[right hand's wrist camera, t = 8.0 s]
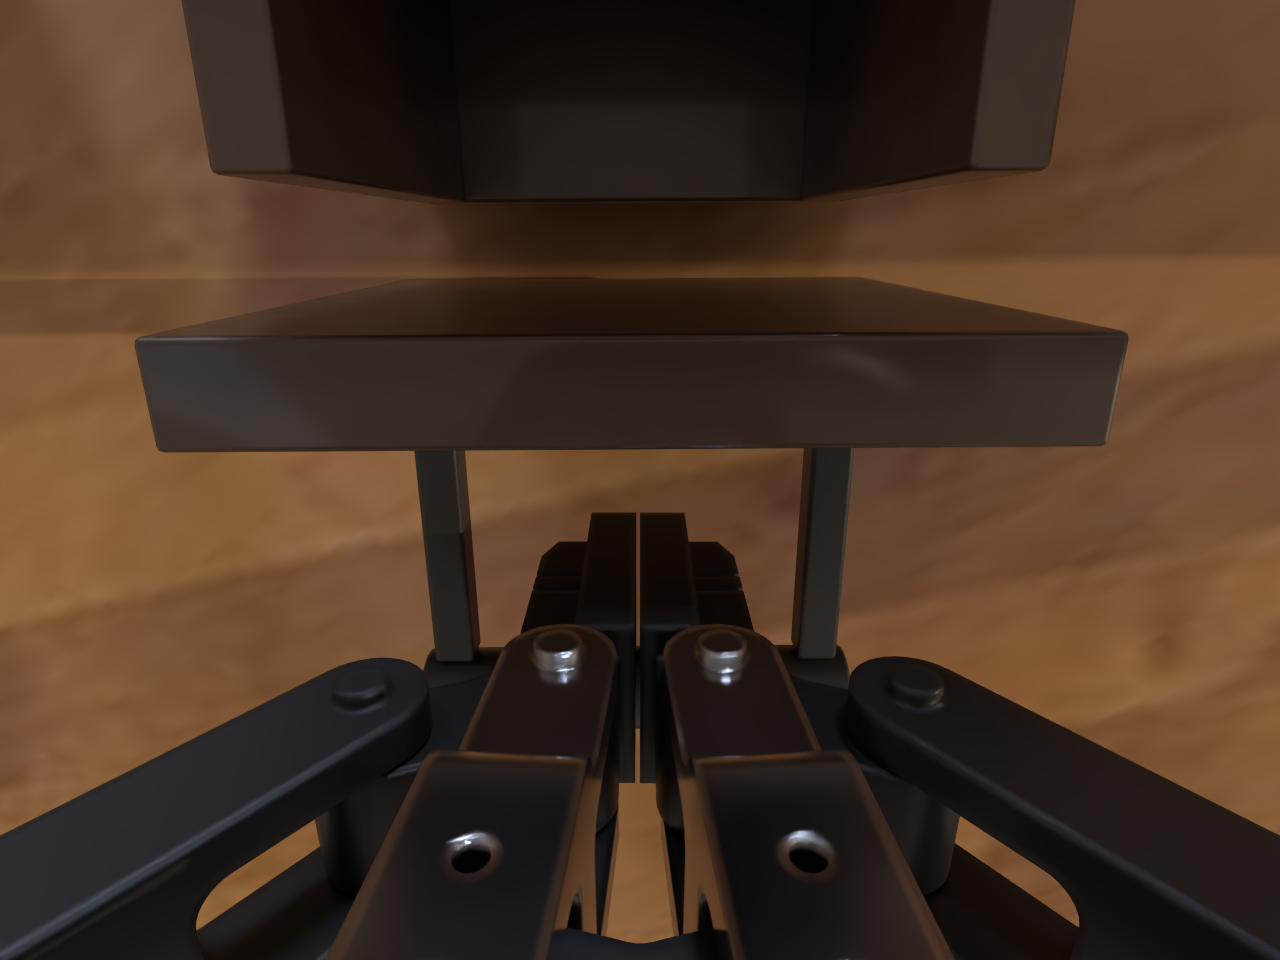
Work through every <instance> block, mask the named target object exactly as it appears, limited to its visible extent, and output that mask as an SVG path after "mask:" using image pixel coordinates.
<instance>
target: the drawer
mask: <svg viewBox="0 0 1280 960" xmlns="http://www.w3.org/2000/svg"><path fill="white" fill-rule="evenodd" d="M182 5H183V10H184V16H185V22H186V28H187V33H188V39H189V45H190V51H191V57H192V62H193V68H194V74H195V80H196V85H197V91H198V97H199V103H200V109H201V114H202V120H203V126H204V132H205V138H206V143H207V149H208V155H209V161H210V166H211V169H212V171H213V172H214V173H216V174H218V175H224V176H231V177H239V178H246V179H254V180H261V181H268V182H276V183H283V184H290V185H298V186H305V187H313V188H320V189H327V190H335V191H342V192H350V193H357V194H364V195H372V196H379V197H386V198H394V199H401V200H409V201H416V202H423V203H432V204H597V203H800V202H834V201H841V200H848V199H854V198H861V197H868V196H875V195H881V194H888V193H895V192H902V191H908V190H915V189H922V188H929V187H935V186H942V185H949V184H956V183H962V182H969V181H976V180H983V179H989V178H996V177H1003V176H1010V175H1017V174H1023V173H1030V172H1037V171H1041V170H1043V169H1046V168H1047V167H1048V165H1049V163H1050V159H1051V153H1052V146H1053V140H1054V133H1055V127H1056V121H1057V114H1058V108H1059V101H1060V95H1061V89H1062V82H1063V76H1064V69H1065V63H1066V56H1067V50H1068V44H1069V37H1070V31H1071V24H1072V18H1073V12H1074V5H1075V0H182ZM1127 343H1128V334H1127V333H1125V332H1123V331H1121V330H1116V329H1111V328H1106V327H1101V326H1097V325H1092V324H1087V323H1082V322H1077V321H1072V320H1067V319H1062V318H1057V317H1053V316H1048V315H1043V314H1038V313H1033V312H1028V311H1023V310H1018V309H1013V308H1008V307H1004V306H999V305H994V304H989V303H984V302H979V301H974V300H969V299H964V298H959V297H955V296H950V295H945V294H940V293H935V292H930V291H925V290H920V289H915V288H911V287H906V286H901V285H896V284H891V283H886V282H881V281H876V280H871V279H866V278H862V277H822V278H640V279H458V280H403V281H398V282H394V283H389V284H384V285H379V286H375V287H370V288H365V289H361V290H356V291H351V292H347V293H342V294H337V295H333V296H328V297H323V298H319V299H314V300H309V301H305V302H300V303H295V304H291V305H286V306H281V307H276V308H272V309H267V310H262V311H258V312H253V313H248V314H244V315H239V316H234V317H230V318H225V319H220V320H216V321H211V322H206V323H202V324H197V325H192V326H188V327H183V328H178V329H174V330H169V331H164V332H159V333H155V334H150V335H145V336H141V337H139V338H137V339H136V340H135V349H136V354H137V359H138V363H139V368H140V372H141V377H142V382H143V386H144V391H145V395H146V400H147V404H148V409H149V414H150V418H151V423H152V427H153V432H154V437H155V441H156V446H157V448H158V450H159V451H162V452H308V451H415V461H416V470H417V480H418V490H419V499H420V509H421V518H422V528H423V537H424V547H425V556H426V566H427V576H428V585H429V595H430V604H431V614H432V623H433V633H434V642H435V649H432V650H431V651H430V653H429V655H428V657H427V660H426V663H425V666H424V670H423V672H424V673H425V674H426V677H427V679H428V686H429V688H433V687H438V686H443V685H448V684H453V683H458V682H462V681H466V680H470V679H473V678H476V677H479V676H481V675H483V674H486V673H488V672H490V671H492V670H493V669H494V667H495V665H496V663H497V661H498V658H499V656H500V654H501V652H502V650H503V648H504V647H479V644H480V630H479V618H478V606H477V594H476V581H475V569H474V557H473V545H472V533H471V521H470V509H469V497H468V484H467V472H466V460H465V450H605V449H753V448H804V456H803V470H802V485H801V500H800V515H799V530H798V545H797V560H796V575H795V589H794V604H793V619H792V634H791V640H792V643H793V645H774V646H775V647H776V649H777V650H778V652H779V654H780V656H781V658H782V661H783V663H784V665H785V668H786V670H787V672H788V674H791V675H793V676H795V677H798V678H801V679H804V680H807V681H812V682H816V683H820V684H825V685H830V686H835V687H840V688H845V689H848V686H849V678H850V674H849V669H848V664H847V661H846V658H845V655H844V652H843V650H842V649H841V647H839V646H838V645H836V643H837V631H838V620H839V609H840V598H841V586H842V575H843V564H844V553H845V542H846V530H847V519H848V508H849V497H850V486H851V474H852V463H853V452H854V448H902V447H1050V446H1102V445H1105V444H1106V443H1107V441H1108V438H1109V433H1110V428H1111V423H1112V418H1113V413H1114V408H1115V403H1116V398H1117V393H1118V388H1119V383H1120V378H1121V373H1122V368H1123V363H1124V358H1125V353H1126V348H1127ZM635 729H640V646H636V720H635Z"/></svg>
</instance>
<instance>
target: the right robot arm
mask: <svg viewBox="0 0 1280 960" xmlns="http://www.w3.org/2000/svg"><path fill="white" fill-rule="evenodd" d="M635 720H636V513H592V514H591V521H590V527H589V534H588V540H587V542H558V543H557V544H556V545H554V546H553V547H552V548H551V549H550V550H549V551H547V552H546V553H545V554H544V555H543V556H542V558H541V561H540V565H539V568H538V572H537V576H536V579H535V583H534V586H533V591H532V594H531V597H530V601H529V604H528V608H527V612H526V615H525V619H524V623H523V626H522V630H521V633H520V635H518V636H516V637H515V638H514V639H512V640H511V641H510V642H509V643H508V644H507V645H506V646H505V647H504V648H503V650H502V652H501V654H500V656H499V658H498V661H497V663H496V665H495V667H494V669H493V670H492V671H490V672H488V673H486V674H483V675H481V676H479V677H476V678H473V679H470V680H466V681H462V682H458V683H453V684H448V685H443V686H438V687H433V688H429V686H428V679H427V677H426V674H425V673H424V672H423V671H422V669H420V668H419V667H418V666H416V665H415V664H412V663H410V662H408V661H404V660H401V659H394V658H371V659H365V660H359V661H355V662H351V663H347V664H344V665H342V666H339V667H336V668H334V669H332V670H330V671H327V672H325V673H323V674H321V675H319V676H317V677H315V678H313V679H311V680H309V681H307V682H306V683H304V684H302V685H300V686H298V687H296V688H294V689H292V690H290V691H288V692H286V693H284V694H282V695H280V696H278V697H276V698H274V699H272V700H270V701H268V702H266V703H264V704H262V705H260V706H258V707H256V708H254V709H252V710H250V711H248V712H246V713H244V714H242V715H240V716H238V717H236V718H234V719H232V720H230V721H228V722H226V723H224V724H222V725H220V726H218V727H216V728H214V729H212V730H210V731H208V732H206V733H204V734H202V735H200V736H198V737H196V738H194V739H192V740H190V741H188V742H186V743H184V744H182V745H180V746H178V747H176V748H174V749H172V750H170V751H168V752H166V753H164V754H162V755H160V756H158V757H156V758H154V759H152V760H150V761H148V762H146V763H144V764H142V765H140V766H138V767H136V768H134V769H132V770H130V771H128V772H126V773H124V774H122V775H120V776H118V777H116V778H114V779H112V780H110V781H108V782H106V783H104V784H102V785H100V786H98V787H96V788H94V789H92V790H90V791H88V792H86V793H84V794H82V795H80V796H78V797H76V798H74V799H72V800H70V801H68V802H66V803H64V804H62V805H61V806H59V807H57V808H55V809H53V810H51V811H49V812H47V813H45V814H43V815H41V816H39V817H37V818H35V819H33V820H31V821H29V822H27V823H25V824H23V825H21V826H19V827H17V828H15V829H13V830H11V831H9V832H7V833H5V834H3V835H1V836H0V960H1280V836H1279V835H1277V834H1275V833H1273V832H1271V831H1269V830H1267V829H1265V828H1263V827H1261V826H1259V825H1257V824H1255V823H1253V822H1251V821H1249V820H1247V819H1245V818H1243V817H1241V816H1239V815H1237V814H1235V813H1233V812H1231V811H1229V810H1227V809H1225V808H1223V807H1221V806H1219V805H1217V804H1215V803H1213V802H1211V801H1210V800H1208V799H1206V798H1204V797H1202V796H1200V795H1198V794H1196V793H1194V792H1192V791H1190V790H1188V789H1186V788H1184V787H1182V786H1180V785H1178V784H1176V783H1174V782H1172V781H1170V780H1168V779H1166V778H1164V777H1162V776H1160V775H1158V774H1156V773H1154V772H1152V771H1150V770H1148V769H1146V768H1144V767H1142V766H1140V765H1138V764H1136V763H1134V762H1132V761H1130V760H1128V759H1126V758H1124V757H1122V756H1120V755H1118V754H1116V753H1114V752H1112V751H1110V750H1108V749H1106V748H1104V747H1102V746H1100V745H1098V744H1096V743H1094V742H1092V741H1090V740H1088V739H1086V738H1084V737H1082V736H1080V735H1078V734H1076V733H1074V732H1072V731H1070V730H1068V729H1066V728H1064V727H1062V726H1060V725H1058V724H1056V723H1054V722H1052V721H1050V720H1048V719H1046V718H1044V717H1042V716H1040V715H1038V714H1036V713H1034V712H1032V711H1030V710H1028V709H1026V708H1024V707H1022V706H1020V705H1018V704H1016V703H1014V702H1012V701H1010V700H1008V699H1006V698H1004V697H1002V696H1000V695H998V694H996V693H994V692H992V691H990V690H988V689H986V688H984V687H982V686H980V685H978V684H976V683H974V682H972V681H970V680H968V679H967V678H965V677H963V676H961V675H959V674H957V673H955V672H953V671H951V670H949V669H946V668H944V667H942V666H940V665H937V664H934V663H931V662H928V661H924V660H920V659H915V658H909V657H898V656H892V657H880V658H875V659H871V660H868V661H866V662H864V663H862V664H860V665H859V666H857V667H856V668H855V669H854V670H853V672H852V673H851V676H850V678H849V686H848V689H845V688H840V687H835V686H830V685H825V684H820V683H816V682H812V681H807V680H804V679H801V678H798V677H795V676H793V675H791V674H788V672H787V670H786V668H785V665H784V663H783V661H782V658H781V656H780V654H779V652H778V650H777V649H776V647H775V646H774V645H773V644H772V643H771V642H770V641H769V640H768V639H766V638H765V637H764V636H762V635H760V634H758V633H756V632H754V630H753V626H752V622H751V618H750V614H749V611H748V607H747V603H746V599H745V596H744V592H743V591H742V584H741V581H740V577H739V573H738V569H737V565H736V562H735V558H734V556H733V555H732V554H731V553H730V552H728V551H727V550H726V549H725V548H724V547H723V546H721V545H720V544H719V543H718V542H688V535H687V528H686V521H685V514H684V513H640V783H656V802H657V808H658V811H659V813H660V815H661V838H662V846H663V854H664V862H665V870H666V878H667V885H668V893H669V901H670V909H671V917H672V925H673V932H674V937H671V938H667V939H663V940H659V941H655V942H650V943H630V942H625V941H621V940H617V939H613V938H609V937H606V932H607V924H608V917H609V909H610V901H611V893H612V885H613V877H614V870H615V862H616V854H617V846H618V838H619V812H618V797H619V783H635ZM960 816H961V817H963V818H964V819H966V820H967V821H969V822H970V823H972V824H974V825H975V826H977V827H978V828H980V829H981V830H983V831H984V832H986V833H987V834H989V835H990V836H992V837H993V838H995V839H997V840H998V841H1000V842H1001V843H1003V844H1004V845H1006V846H1007V847H1009V848H1010V849H1012V850H1013V851H1015V852H1017V853H1018V854H1020V855H1021V856H1023V857H1024V858H1026V859H1027V860H1029V861H1030V862H1032V863H1033V864H1035V865H1036V866H1038V867H1040V868H1041V869H1043V870H1044V871H1046V872H1047V873H1048V874H1050V875H1051V876H1052V877H1053V878H1054V879H1056V880H1057V881H1058V882H1059V883H1060V884H1061V886H1062V887H1063V888H1064V889H1065V890H1066V892H1067V893H1068V894H1069V896H1070V897H1071V899H1072V901H1073V902H1074V904H1075V907H1076V909H1077V912H1078V916H1079V927H1077V926H1075V925H1074V924H1072V923H1071V922H1069V921H1068V920H1067V919H1065V918H1064V917H1062V916H1061V915H1059V914H1058V913H1056V912H1055V911H1053V910H1052V909H1050V908H1049V907H1048V906H1046V905H1045V904H1043V903H1042V902H1040V901H1039V900H1037V899H1036V898H1034V897H1033V896H1031V895H1030V894H1029V893H1027V892H1026V891H1024V890H1023V889H1021V888H1020V887H1018V886H1017V885H1015V884H1014V883H1012V882H1011V881H1010V880H1008V879H1007V878H1005V877H1004V876H1002V875H1001V874H999V873H998V872H996V871H995V870H993V869H992V868H991V867H989V866H988V865H986V864H985V863H983V862H982V861H980V860H979V859H977V858H976V857H974V856H973V855H972V854H970V853H969V852H967V851H966V850H964V849H963V848H961V847H960V846H958V845H957V844H955V838H956V833H957V828H958V823H959V818H960ZM314 819H315V822H316V827H317V833H318V838H319V843H320V847H319V848H317V849H316V850H314V851H313V852H311V853H310V854H308V855H307V856H306V857H304V858H303V859H301V860H300V861H298V862H297V863H295V864H294V865H292V866H291V867H289V868H288V869H287V870H285V871H284V872H282V873H281V874H279V875H278V876H276V877H275V878H273V879H272V880H270V881H269V882H268V883H266V884H265V885H263V886H262V887H260V888H259V889H257V890H256V891H254V892H253V893H251V894H250V895H249V896H247V897H246V898H244V899H243V900H241V901H240V902H238V903H237V904H235V905H234V906H232V907H231V908H230V909H228V910H227V911H225V912H224V913H222V914H221V915H219V916H218V917H216V918H215V919H213V920H212V921H210V922H209V923H208V924H206V925H205V926H203V927H202V928H200V929H198V930H197V931H196V920H197V916H198V913H199V911H200V908H201V906H202V904H203V903H204V901H205V899H206V898H207V896H208V895H209V894H210V892H211V891H212V890H213V889H214V888H215V887H216V886H217V885H218V884H219V883H220V882H221V881H222V880H223V879H224V878H226V877H227V876H228V875H230V874H231V873H233V872H234V871H236V870H237V869H239V868H240V867H242V866H243V865H245V864H247V863H248V862H250V861H251V860H253V859H254V858H256V857H257V856H259V855H260V854H262V853H263V852H265V851H267V850H268V849H270V848H271V847H273V846H274V845H276V844H277V843H279V842H280V841H282V840H283V839H285V838H286V837H288V836H290V835H291V834H293V833H294V832H296V831H297V830H299V829H300V828H302V827H303V826H305V825H306V824H308V823H310V822H311V821H313V820H314Z"/></svg>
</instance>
